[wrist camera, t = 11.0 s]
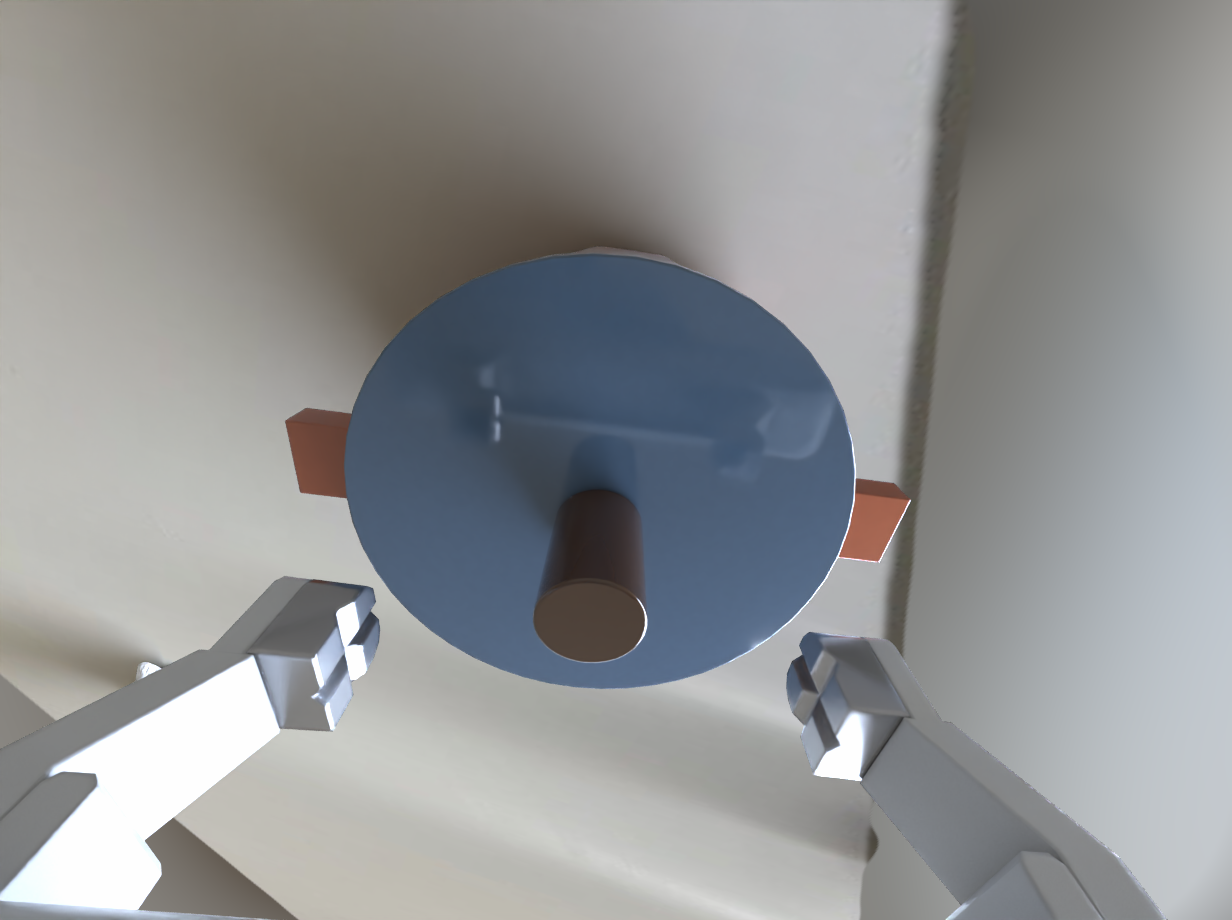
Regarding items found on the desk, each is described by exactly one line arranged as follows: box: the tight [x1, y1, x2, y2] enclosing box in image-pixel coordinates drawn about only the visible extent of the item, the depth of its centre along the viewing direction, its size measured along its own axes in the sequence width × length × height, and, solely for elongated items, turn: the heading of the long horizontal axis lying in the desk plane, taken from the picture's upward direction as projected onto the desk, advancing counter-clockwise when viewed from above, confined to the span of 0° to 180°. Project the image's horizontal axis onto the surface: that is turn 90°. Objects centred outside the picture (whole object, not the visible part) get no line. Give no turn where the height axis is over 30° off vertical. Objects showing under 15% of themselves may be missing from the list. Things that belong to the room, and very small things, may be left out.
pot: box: [285, 246, 910, 562], centre depth 17 cm, size 13×18×8 cm
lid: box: [344, 252, 856, 689], centre depth 12 cm, size 14×14×5 cm
